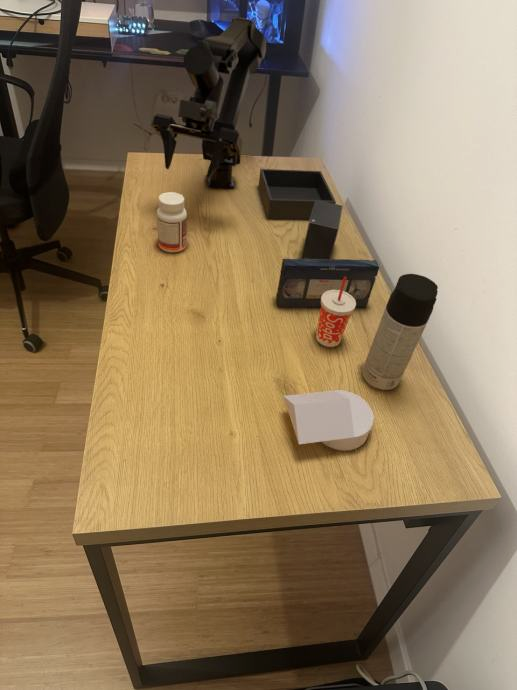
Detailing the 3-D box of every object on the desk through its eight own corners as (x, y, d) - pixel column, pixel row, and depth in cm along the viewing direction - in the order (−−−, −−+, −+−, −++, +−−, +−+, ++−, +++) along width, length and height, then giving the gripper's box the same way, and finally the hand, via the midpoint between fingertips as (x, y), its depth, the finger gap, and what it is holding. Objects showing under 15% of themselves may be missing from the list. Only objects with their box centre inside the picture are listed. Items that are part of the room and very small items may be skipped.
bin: (258, 187, 133) (260, 168, 129) (317, 189, 135) (320, 171, 132) (267, 219, 121) (270, 199, 118) (331, 220, 124) (336, 201, 120)
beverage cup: (305, 339, 92) (320, 278, 82) (321, 322, 96) (337, 262, 86) (335, 354, 90) (353, 293, 80) (350, 336, 94) (369, 276, 84)
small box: (328, 271, 108) (339, 228, 101) (299, 264, 109) (307, 222, 102) (334, 245, 116) (344, 204, 109) (306, 239, 116) (314, 198, 109)
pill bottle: (176, 235, 112) (176, 187, 104) (192, 248, 109) (192, 200, 101) (152, 242, 109) (150, 194, 101) (167, 256, 106) (166, 208, 98)
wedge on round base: (295, 457, 73) (376, 446, 76) (302, 430, 69) (389, 419, 72) (280, 409, 80) (356, 400, 82) (286, 381, 75) (366, 373, 78)
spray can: (401, 370, 89) (442, 279, 75) (396, 397, 84) (439, 305, 70) (365, 358, 90) (398, 267, 76) (358, 384, 85) (392, 292, 71)
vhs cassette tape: (276, 307, 98) (284, 265, 91) (275, 297, 100) (282, 255, 93) (367, 309, 100) (380, 268, 93) (363, 299, 102) (376, 259, 95)
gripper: (151, 71, 99) (132, 148, 99) (242, 89, 96) (222, 168, 97) (168, 99, 110) (150, 169, 110) (250, 117, 107) (231, 187, 108)
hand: (187, 173), depth 106 cm, fingers open, 9 cm apart
